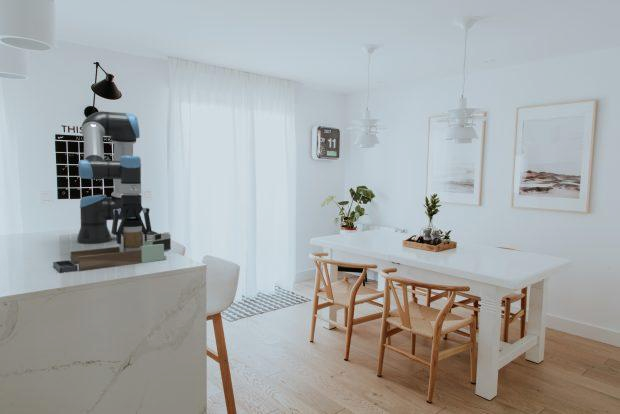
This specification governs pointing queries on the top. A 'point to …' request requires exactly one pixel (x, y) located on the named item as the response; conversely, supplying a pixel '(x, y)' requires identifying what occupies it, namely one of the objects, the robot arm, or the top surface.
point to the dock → (152, 252)
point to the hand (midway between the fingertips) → (132, 250)
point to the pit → (65, 266)
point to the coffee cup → (132, 234)
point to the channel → (105, 258)
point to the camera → (160, 239)
